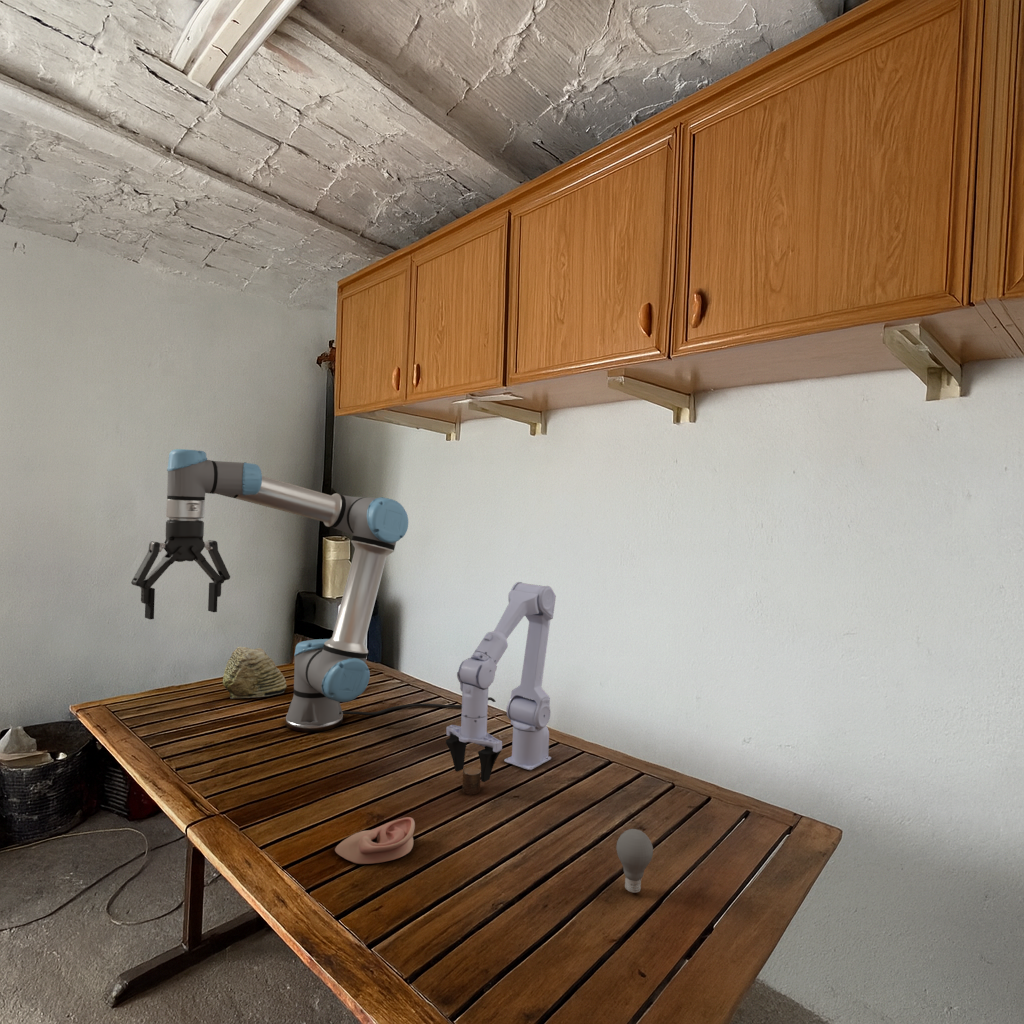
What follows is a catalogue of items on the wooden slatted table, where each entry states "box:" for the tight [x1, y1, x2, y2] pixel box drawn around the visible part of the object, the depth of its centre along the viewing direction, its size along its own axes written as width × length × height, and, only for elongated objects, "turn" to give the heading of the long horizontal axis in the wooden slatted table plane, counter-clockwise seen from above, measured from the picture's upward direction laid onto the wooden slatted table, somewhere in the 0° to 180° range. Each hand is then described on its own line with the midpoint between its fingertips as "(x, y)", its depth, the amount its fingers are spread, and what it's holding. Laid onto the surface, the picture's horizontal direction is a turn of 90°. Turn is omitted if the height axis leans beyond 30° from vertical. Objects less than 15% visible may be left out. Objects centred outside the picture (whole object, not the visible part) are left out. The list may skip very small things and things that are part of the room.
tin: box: [461, 766, 481, 796], centre depth 140 cm, size 4×4×4 cm
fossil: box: [222, 646, 288, 699], centre depth 198 cm, size 9×18×15 cm, turn 132°
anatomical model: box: [334, 816, 416, 865], centre depth 115 cm, size 13×4×12 cm
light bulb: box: [615, 828, 654, 894], centre depth 106 cm, size 6×6×10 cm
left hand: (182, 614), depth 141 cm, fingers open, 13 cm apart
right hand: (472, 775), depth 140 cm, fingers open, 7 cm apart
